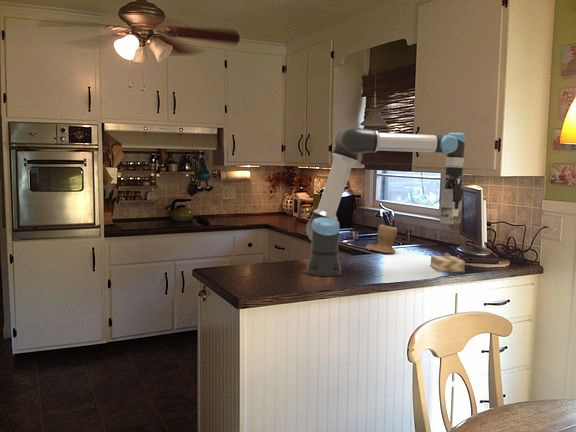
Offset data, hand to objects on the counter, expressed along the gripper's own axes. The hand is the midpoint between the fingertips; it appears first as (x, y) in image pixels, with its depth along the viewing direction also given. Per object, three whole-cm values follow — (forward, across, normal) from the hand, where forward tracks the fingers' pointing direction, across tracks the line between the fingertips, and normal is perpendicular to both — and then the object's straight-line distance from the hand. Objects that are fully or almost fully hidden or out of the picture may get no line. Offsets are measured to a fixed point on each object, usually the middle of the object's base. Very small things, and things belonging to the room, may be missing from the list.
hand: (450, 214), depth 256 cm
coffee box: (+4, 0, 0) cm, 4 cm away
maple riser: (+26, 0, 0) cm, 26 cm away
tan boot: (+26, +41, +22) cm, 53 cm away
